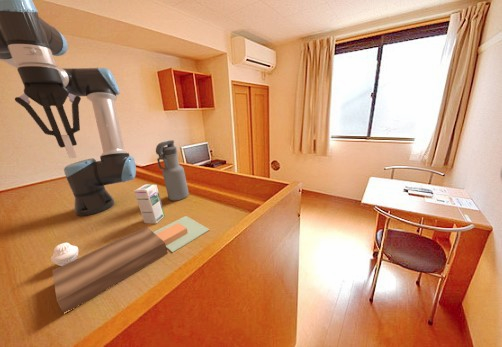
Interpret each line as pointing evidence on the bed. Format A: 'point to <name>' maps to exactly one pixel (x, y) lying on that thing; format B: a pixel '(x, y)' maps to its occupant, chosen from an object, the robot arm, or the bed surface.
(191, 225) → the mat
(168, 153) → the water bottle
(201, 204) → the bed surface
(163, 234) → the orange rectangular block
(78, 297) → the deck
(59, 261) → the white steamed bun
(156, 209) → the syrup box
